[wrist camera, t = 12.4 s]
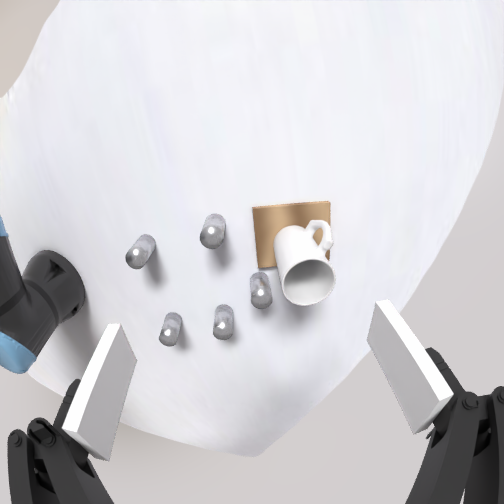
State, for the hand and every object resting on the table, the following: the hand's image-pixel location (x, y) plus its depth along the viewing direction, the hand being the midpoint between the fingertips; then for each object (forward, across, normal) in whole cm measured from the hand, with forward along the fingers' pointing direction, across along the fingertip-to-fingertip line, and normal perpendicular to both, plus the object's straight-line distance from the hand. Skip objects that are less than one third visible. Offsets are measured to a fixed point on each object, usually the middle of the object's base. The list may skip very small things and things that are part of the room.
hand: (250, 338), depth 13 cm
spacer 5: (+30, +2, -15) cm, 34 cm away
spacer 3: (+31, -4, -4) cm, 31 cm away
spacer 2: (+31, -15, -23) cm, 41 cm away
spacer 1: (+31, -16, -7) cm, 35 cm away
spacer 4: (+31, -5, -21) cm, 38 cm away
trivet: (+30, +8, -7) cm, 32 cm away
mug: (+29, +9, -7) cm, 31 cm away
